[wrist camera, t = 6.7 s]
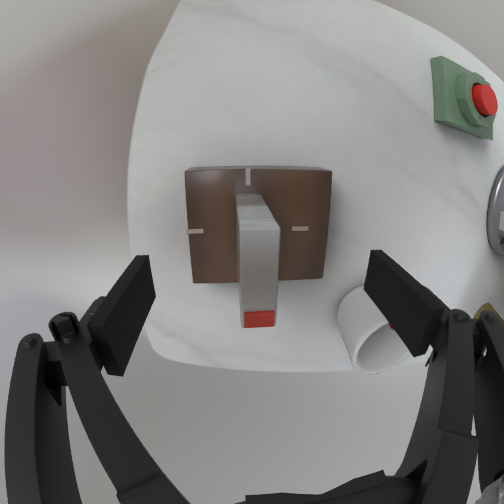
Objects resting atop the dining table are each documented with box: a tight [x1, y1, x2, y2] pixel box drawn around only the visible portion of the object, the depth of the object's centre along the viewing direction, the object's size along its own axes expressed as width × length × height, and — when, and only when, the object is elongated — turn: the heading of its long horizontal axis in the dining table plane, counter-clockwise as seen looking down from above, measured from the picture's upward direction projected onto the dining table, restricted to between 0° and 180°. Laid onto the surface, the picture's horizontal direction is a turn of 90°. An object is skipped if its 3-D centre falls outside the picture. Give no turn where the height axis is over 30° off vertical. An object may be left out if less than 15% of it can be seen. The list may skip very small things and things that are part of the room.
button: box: [472, 85, 497, 115], centre depth 17 cm, size 4×4×2 cm
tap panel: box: [185, 166, 332, 283], centre depth 24 cm, size 12×10×3 cm
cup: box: [337, 286, 410, 374], centre depth 27 cm, size 11×8×8 cm
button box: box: [431, 56, 496, 140], centre depth 19 cm, size 10×8×4 cm
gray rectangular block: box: [236, 194, 280, 328], centre depth 18 cm, size 6×2×9 cm, turn 0°
